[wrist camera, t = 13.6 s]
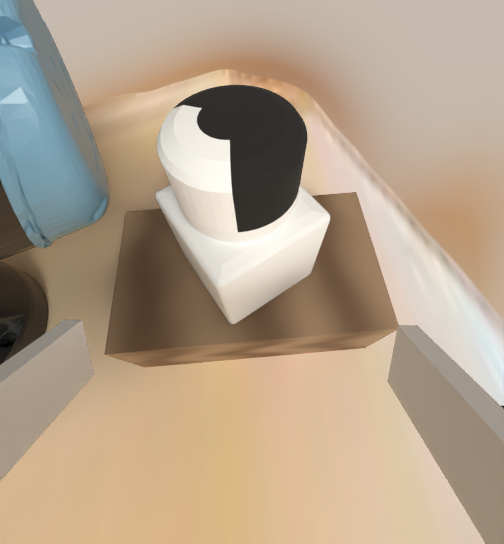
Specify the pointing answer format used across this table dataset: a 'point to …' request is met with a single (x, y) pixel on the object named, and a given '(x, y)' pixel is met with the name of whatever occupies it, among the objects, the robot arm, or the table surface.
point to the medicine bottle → (240, 194)
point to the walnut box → (262, 322)
